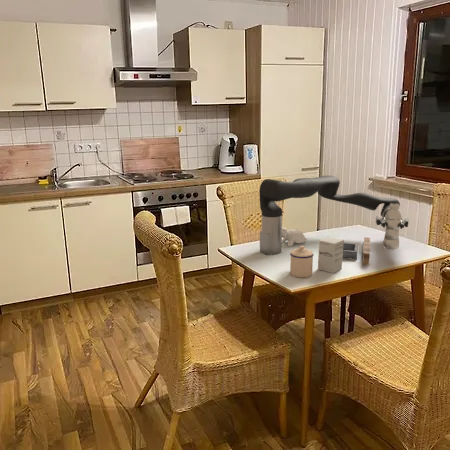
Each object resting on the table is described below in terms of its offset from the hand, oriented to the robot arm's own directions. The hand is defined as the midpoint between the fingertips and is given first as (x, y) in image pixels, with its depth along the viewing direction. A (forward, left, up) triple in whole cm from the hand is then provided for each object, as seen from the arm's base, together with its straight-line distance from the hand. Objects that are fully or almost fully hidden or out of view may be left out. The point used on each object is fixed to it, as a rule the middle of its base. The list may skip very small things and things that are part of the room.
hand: (392, 225), depth 190 cm
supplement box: (-30, +6, -15) cm, 34 cm away
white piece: (-19, +43, -15) cm, 49 cm away
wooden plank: (-4, +9, -15) cm, 18 cm away
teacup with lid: (-43, +10, -15) cm, 46 cm away
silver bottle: (+2, +2, -11) cm, 11 cm away
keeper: (-11, +17, -15) cm, 25 cm away
